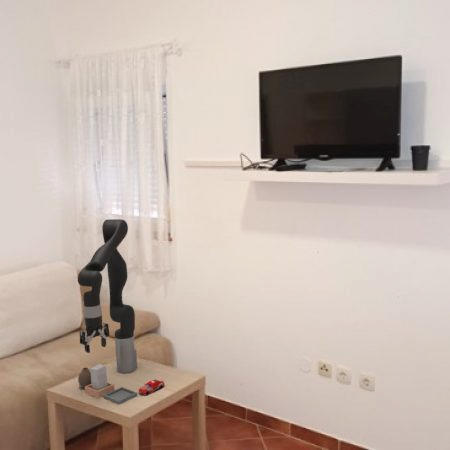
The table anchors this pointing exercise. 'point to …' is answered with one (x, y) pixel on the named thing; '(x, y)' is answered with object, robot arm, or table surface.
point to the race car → (151, 387)
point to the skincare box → (99, 377)
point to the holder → (101, 392)
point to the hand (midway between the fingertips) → (95, 349)
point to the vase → (84, 377)
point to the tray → (120, 395)
